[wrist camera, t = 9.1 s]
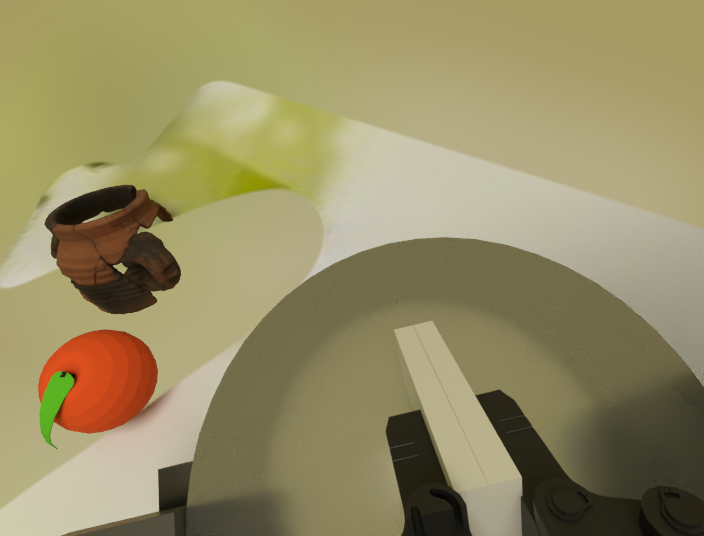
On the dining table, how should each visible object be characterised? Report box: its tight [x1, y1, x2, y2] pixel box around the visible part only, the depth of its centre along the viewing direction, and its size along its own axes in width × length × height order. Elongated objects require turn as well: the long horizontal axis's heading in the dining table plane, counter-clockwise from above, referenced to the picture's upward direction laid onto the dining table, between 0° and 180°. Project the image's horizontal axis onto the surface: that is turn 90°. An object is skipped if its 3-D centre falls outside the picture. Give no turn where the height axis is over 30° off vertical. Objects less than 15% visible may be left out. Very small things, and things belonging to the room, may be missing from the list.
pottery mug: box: [45, 185, 181, 314], centre depth 31 cm, size 12×10×8 cm
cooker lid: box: [62, 237, 704, 536], centre depth 14 cm, size 26×21×2 cm
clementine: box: [38, 330, 158, 449], centre depth 26 cm, size 8×7×7 cm
